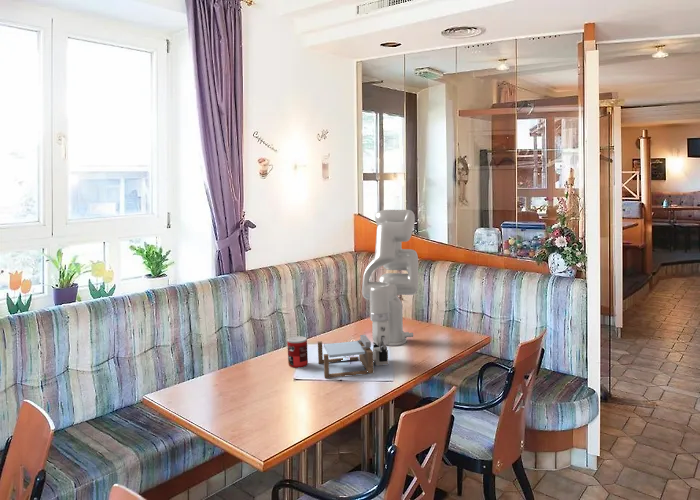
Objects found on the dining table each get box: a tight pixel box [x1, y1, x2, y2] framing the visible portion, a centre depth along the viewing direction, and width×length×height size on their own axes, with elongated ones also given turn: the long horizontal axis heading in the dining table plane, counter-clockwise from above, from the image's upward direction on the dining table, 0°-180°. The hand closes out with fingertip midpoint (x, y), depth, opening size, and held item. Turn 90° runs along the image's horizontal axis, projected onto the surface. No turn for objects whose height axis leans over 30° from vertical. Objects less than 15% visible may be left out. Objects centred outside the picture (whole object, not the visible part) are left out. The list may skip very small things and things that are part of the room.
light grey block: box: [372, 346, 389, 366], centre depth 236 cm, size 5×5×6 cm
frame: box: [317, 341, 374, 379], centre depth 231 cm, size 19×18×9 cm
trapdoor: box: [323, 334, 372, 359], centre depth 231 cm, size 17×14×4 cm
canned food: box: [286, 335, 309, 369], centre depth 237 cm, size 8×8×11 cm
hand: (380, 357), depth 236 cm, fingers open, 9 cm apart
